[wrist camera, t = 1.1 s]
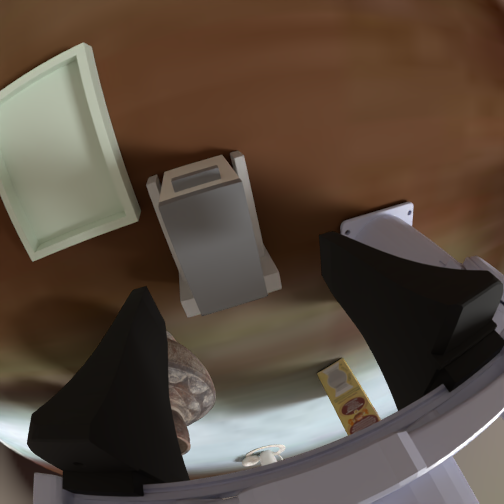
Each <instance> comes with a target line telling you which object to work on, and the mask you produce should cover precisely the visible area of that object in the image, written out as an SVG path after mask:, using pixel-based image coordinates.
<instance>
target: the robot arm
mask: <svg viewBox="0 0 504 504" xmlns="http://www.w3.org/2000/svg"><path fill="white" fill-rule="evenodd" d="M408 211H409V212H408ZM412 218H413V204H412V203H411V202H405V203H402V204H398V205H395V206H392V207H388V208H385V209H382V210H378V211H375V212H372V213H368V214H365V215H362V216H358V217H355V218H352V219H348V220H345V221H343V222H342V223H341V226H340V230H341V234H339V233H336V232H333V231H331V232H328V233H325V234H321V235H319V241H320V255H321V271H322V276H323V278H324V280H325V282H326V284H327V286H328V287H329V289H330V291H331V293H332V294H333V295H334V297H335V298H336V300H337V301H338V302H339V304H340V305H341V306H342V308H343V309H344V310H345V312H346V313H347V314H348V316H349V317H350V318H351V320H352V321H353V322H354V324H355V325H356V327H357V328H358V329H359V331H360V332H361V334H362V335H363V337H364V339H365V340H366V342H367V344H368V346H369V348H370V349H371V351H372V353H373V355H374V357H375V359H376V361H377V363H378V365H379V367H380V369H381V371H382V373H383V375H384V378H385V380H386V382H387V384H388V387H389V389H390V391H391V394H392V396H393V399H394V401H395V404H396V407H397V409H398V411H397V412H396V413H394V414H392V415H390V416H388V417H386V418H384V419H382V420H380V421H379V422H377V423H374V424H372V425H370V426H368V427H366V428H364V429H362V430H360V431H358V432H355V433H353V434H351V435H349V436H346V437H344V438H342V439H339V440H337V441H335V442H332V443H330V444H327V445H324V446H322V447H319V448H317V449H314V450H311V451H308V452H305V453H303V454H300V455H297V456H294V457H290V458H287V459H284V460H281V461H278V462H274V463H271V464H267V465H263V466H260V467H256V468H252V469H248V470H243V471H239V472H234V473H230V474H225V475H220V476H214V477H209V478H202V479H196V480H190V479H189V476H188V473H187V470H186V467H185V464H184V461H183V457H182V454H181V450H180V446H179V442H178V439H177V434H176V430H175V425H174V420H173V415H172V409H171V404H170V397H169V378H168V341H167V333H166V326H165V321H164V319H163V317H162V316H161V314H160V312H159V310H158V308H157V306H156V304H155V302H154V300H153V298H152V296H151V294H150V292H149V290H148V288H147V286H145V287H142V288H138V289H135V290H133V291H132V292H131V294H130V295H129V297H128V298H127V300H126V302H125V303H124V305H123V307H122V308H121V310H120V312H119V313H118V315H117V317H116V319H115V320H114V322H113V324H112V325H111V327H110V328H109V330H108V331H107V333H106V335H105V336H104V338H103V339H102V341H101V342H100V344H99V345H98V347H97V348H96V350H95V351H94V352H93V354H92V355H91V356H90V358H89V359H88V360H87V361H86V363H85V364H84V365H83V366H82V367H81V369H80V370H79V371H78V372H77V373H76V374H75V375H74V377H73V378H72V379H71V380H70V381H69V382H68V383H67V384H66V385H65V386H64V387H63V388H62V389H61V390H60V391H59V392H58V393H57V394H56V395H55V396H54V397H52V398H51V399H50V400H49V401H48V402H46V403H45V404H44V405H43V406H42V407H40V408H39V409H38V410H37V411H35V412H34V413H33V414H32V416H31V422H30V427H29V433H28V440H27V445H28V447H29V448H30V450H31V451H32V452H33V453H34V454H36V455H37V456H39V457H40V458H42V459H43V460H45V461H47V462H48V463H50V464H52V465H54V466H55V467H57V468H59V469H61V470H63V478H62V477H60V476H56V475H50V474H42V473H35V474H34V490H33V491H34V492H33V504H479V502H478V500H477V498H476V496H475V495H474V493H473V491H472V489H471V487H470V486H469V484H468V482H467V480H466V479H465V477H464V475H463V473H462V472H461V470H460V468H459V467H458V465H457V463H456V461H455V460H454V458H453V455H455V454H456V453H457V452H459V451H460V450H461V449H462V448H464V447H465V446H466V445H467V444H469V443H470V442H471V441H472V440H474V439H475V438H476V437H477V436H478V435H479V434H481V433H482V432H483V431H484V430H485V429H486V428H487V427H488V426H489V425H491V424H492V423H493V422H494V421H495V420H496V419H497V418H498V417H499V416H500V417H501V418H502V419H504V275H503V274H502V273H500V272H499V271H498V270H497V269H495V268H494V267H493V266H491V265H490V264H489V263H487V262H486V261H484V260H483V259H481V258H480V257H478V256H473V257H471V258H470V257H466V258H465V260H464V263H463V264H461V263H459V262H458V261H457V260H455V259H454V258H453V257H452V256H450V255H449V254H448V253H447V252H445V251H444V250H443V249H442V248H440V247H439V246H438V245H436V244H435V243H434V242H432V241H431V240H430V239H428V238H427V237H426V236H424V235H423V234H422V233H420V232H419V231H418V230H416V229H415V228H413V227H412ZM347 230H348V232H347V233H345V232H346V231H347ZM232 496H237V497H233V498H230V499H225V500H223V499H222V498H227V497H232Z"/></svg>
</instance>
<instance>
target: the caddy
mask: <svg viewBox="0 0 504 504" xmlns="http://www.w3.org/2000/svg"><path fill="white" fill-rule="evenodd" d="M158 208H159V211H160V214H161V216H162V219H163V222H164V224H165V227H166V230H167V232H168V235H169V238H170V240H171V243H172V245H173V248H174V250H175V253H176V256H177V258H178V261H179V263H180V266H181V268H182V270H183V273H184V275H185V278H186V280H187V283H188V285H189V287H190V290H191V292H192V294H193V297H194V299H195V301H196V304H197V306H198V308H199V311H200V313H201V315H202V316H204V315H208V314H211V313H214V312H218V311H221V310H224V309H228V308H231V307H234V306H238V305H241V304H244V303H247V302H250V301H254V300H257V299H260V298H263V297H266V296H268V293H267V289H266V285H265V280H264V276H263V271H262V267H261V262H260V258H259V253H258V249H257V244H256V240H255V236H254V231H253V227H252V222H251V218H250V214H249V209H248V205H247V200H246V196H245V192H244V187H243V183H242V181H241V179H240V178H239V177H238V175H237V174H236V173H235V171H234V170H233V169H232V167H231V166H230V164H229V163H228V162H227V160H226V159H225V158H224V156H223V155H219V156H215V157H212V158H208V159H205V160H201V161H198V162H195V163H191V164H188V165H185V166H181V167H178V168H175V169H172V170H169V171H166V172H164V176H163V181H162V187H161V193H160V198H159V204H158Z"/></svg>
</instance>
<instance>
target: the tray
mask: <svg viewBox="0 0 504 504" xmlns="http://www.w3.org/2000/svg"><path fill="white" fill-rule="evenodd" d="M0 196H1V198H2V200H3V203H4V205H5V207H6V210H7V212H8V214H9V216H10V219H11V221H12V223H13V225H14V227H15V229H16V231H17V233H18V235H19V237H20V239H21V241H22V243H23V245H24V247H25V249H26V251H27V253H28V254H29V256H30V258H31V260H32V262H34V261H36V260H38V259H41V258H43V257H45V256H48V255H50V254H53V253H55V252H58V251H60V250H62V249H65V248H67V247H70V246H73V245H75V244H78V243H80V242H83V241H85V240H88V239H91V238H93V237H96V236H99V235H101V234H104V233H107V232H110V231H112V230H115V229H118V228H121V227H123V226H126V225H129V224H132V223H135V222H138V220H139V217H140V213H141V209H140V206H139V204H138V201H137V199H136V196H135V193H134V190H133V188H132V185H131V182H130V179H129V176H128V174H127V171H126V168H125V165H124V162H123V159H122V156H121V153H120V150H119V147H118V144H117V140H116V137H115V134H114V131H113V127H112V124H111V121H110V117H109V114H108V110H107V107H106V103H105V100H104V96H103V92H102V88H101V85H100V81H99V77H98V73H97V68H96V64H95V60H94V55H93V51H92V47H91V46H89V45H87V44H85V43H81V44H79V45H77V46H75V47H73V48H71V49H69V50H67V51H65V52H63V53H61V54H59V55H57V56H55V57H54V58H52V59H50V60H48V61H46V62H45V63H43V64H41V65H39V66H38V67H36V68H34V69H33V70H31V71H30V72H28V73H26V74H25V75H23V76H22V77H20V78H19V79H17V80H16V81H14V82H13V83H11V84H10V85H8V86H7V87H6V88H4V89H3V90H1V91H0Z"/></svg>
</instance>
